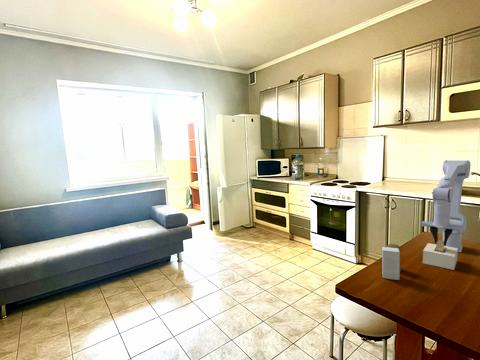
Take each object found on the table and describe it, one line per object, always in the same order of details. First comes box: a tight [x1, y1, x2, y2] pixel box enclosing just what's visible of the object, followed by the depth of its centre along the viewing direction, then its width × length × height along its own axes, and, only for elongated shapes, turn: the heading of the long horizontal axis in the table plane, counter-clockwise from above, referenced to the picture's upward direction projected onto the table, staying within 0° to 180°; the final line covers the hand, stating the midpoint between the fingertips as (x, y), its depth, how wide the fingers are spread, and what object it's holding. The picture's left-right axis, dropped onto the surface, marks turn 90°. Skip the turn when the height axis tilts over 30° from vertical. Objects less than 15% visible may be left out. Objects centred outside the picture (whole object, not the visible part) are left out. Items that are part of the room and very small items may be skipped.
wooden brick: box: [436, 239, 445, 253], centre depth 119 cm, size 4×2×4 cm, turn 136°
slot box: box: [422, 242, 458, 271], centre depth 119 cm, size 11×11×6 cm
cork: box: [386, 243, 402, 272], centre depth 115 cm, size 6×6×11 cm
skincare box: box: [381, 246, 401, 281], centre depth 109 cm, size 6×4×12 cm
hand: (440, 244), depth 118 cm, fingers closed on wooden brick, 2 cm apart
